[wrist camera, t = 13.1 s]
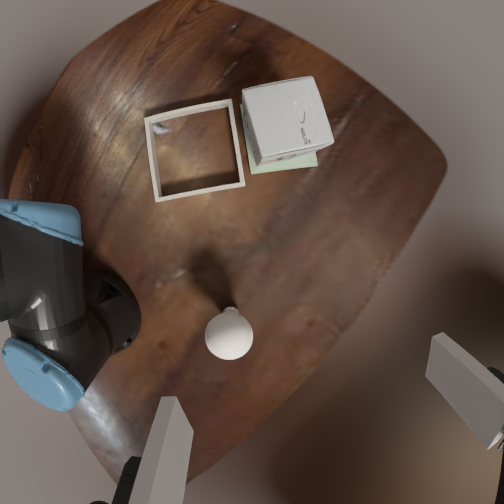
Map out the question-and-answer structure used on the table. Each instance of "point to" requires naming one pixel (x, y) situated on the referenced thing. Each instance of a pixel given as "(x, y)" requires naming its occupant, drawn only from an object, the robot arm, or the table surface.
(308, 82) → the ink box
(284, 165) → the mat
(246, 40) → the table surface
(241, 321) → the light bulb
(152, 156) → the tray rim
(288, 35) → the table surface
